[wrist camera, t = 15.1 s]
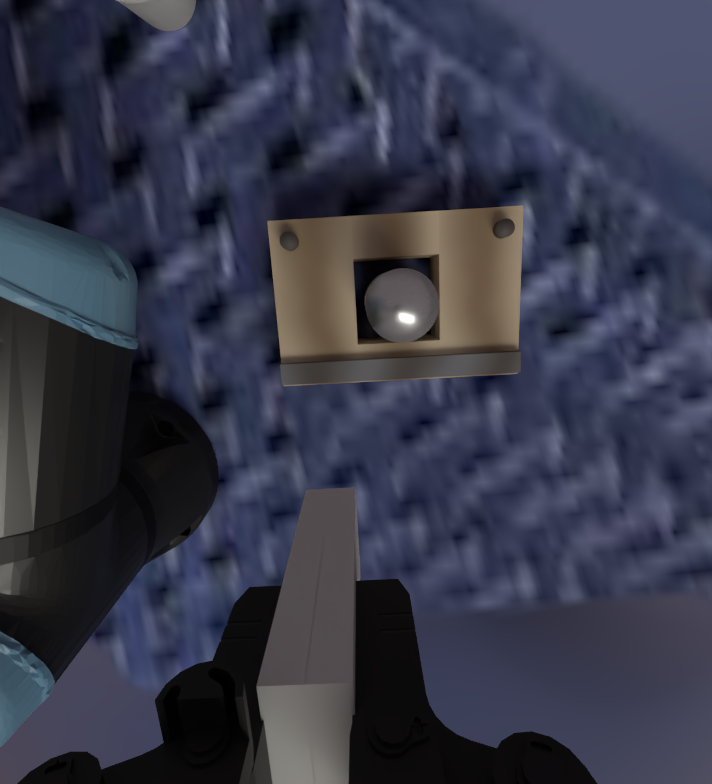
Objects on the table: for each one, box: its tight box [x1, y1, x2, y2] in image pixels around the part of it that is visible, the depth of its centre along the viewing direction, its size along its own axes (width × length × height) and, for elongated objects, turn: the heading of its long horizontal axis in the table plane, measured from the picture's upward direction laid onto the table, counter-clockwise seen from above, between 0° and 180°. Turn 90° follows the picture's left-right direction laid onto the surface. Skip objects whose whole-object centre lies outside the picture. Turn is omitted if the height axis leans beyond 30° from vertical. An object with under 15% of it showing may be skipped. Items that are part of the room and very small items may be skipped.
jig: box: [267, 206, 523, 386], centre depth 33 cm, size 18×12×5 cm, turn 93°
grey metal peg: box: [364, 268, 439, 343], centre depth 30 cm, size 4×4×10 cm
